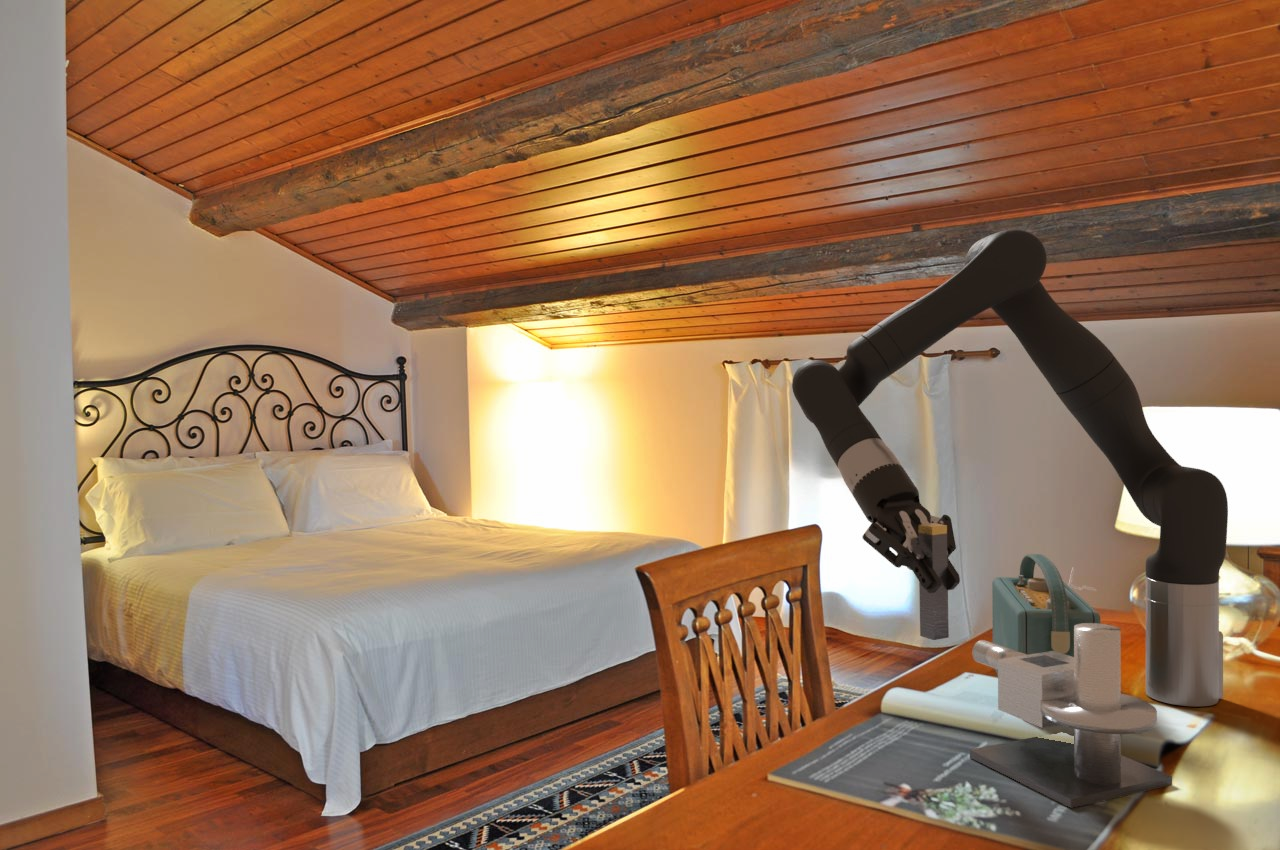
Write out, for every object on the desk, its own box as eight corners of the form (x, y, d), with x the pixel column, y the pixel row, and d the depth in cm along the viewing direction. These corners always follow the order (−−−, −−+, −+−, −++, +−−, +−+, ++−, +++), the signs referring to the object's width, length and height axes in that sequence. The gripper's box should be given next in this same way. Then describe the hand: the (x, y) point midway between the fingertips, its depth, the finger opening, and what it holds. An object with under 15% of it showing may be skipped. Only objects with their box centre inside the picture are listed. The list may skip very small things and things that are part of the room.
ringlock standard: (1026, 723, 133) (1026, 590, 133) (1191, 793, 110) (1192, 632, 109) (935, 740, 128) (934, 601, 127) (1089, 817, 105) (1088, 648, 104)
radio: (1104, 725, 132) (1104, 576, 132) (1019, 721, 135) (1018, 574, 134) (1062, 669, 158) (1062, 544, 157) (991, 667, 160) (990, 543, 159)
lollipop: (1088, 638, 176) (1087, 571, 176) (1035, 629, 183) (1035, 564, 182) (1101, 631, 180) (1101, 566, 180) (1049, 623, 187) (1049, 560, 187)
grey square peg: (934, 633, 125) (933, 523, 124) (948, 637, 123) (946, 525, 122) (920, 635, 124) (918, 524, 123) (933, 640, 122) (932, 527, 121)
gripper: (847, 465, 126) (916, 576, 116) (930, 458, 132) (1003, 563, 122) (822, 502, 131) (887, 612, 121) (904, 494, 137) (971, 598, 127)
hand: (945, 587), depth 121 cm, fingers closed on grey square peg, 2 cm apart
